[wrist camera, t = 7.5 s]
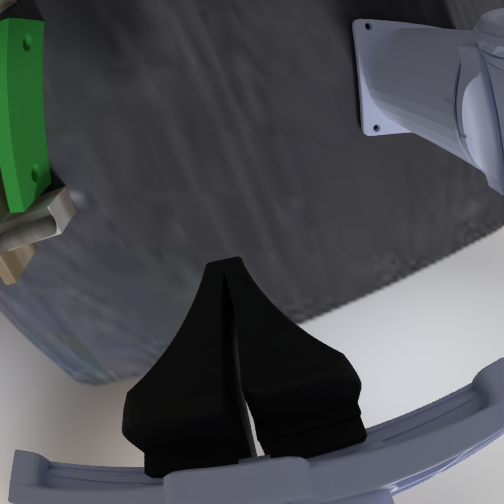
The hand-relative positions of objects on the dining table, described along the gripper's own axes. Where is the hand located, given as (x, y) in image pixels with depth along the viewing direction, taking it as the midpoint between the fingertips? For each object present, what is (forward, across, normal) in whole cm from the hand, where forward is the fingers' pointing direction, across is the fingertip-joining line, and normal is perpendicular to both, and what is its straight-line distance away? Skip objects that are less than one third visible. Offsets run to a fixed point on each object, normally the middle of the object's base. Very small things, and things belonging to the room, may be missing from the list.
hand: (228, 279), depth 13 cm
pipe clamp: (+10, +11, -9) cm, 18 cm away
